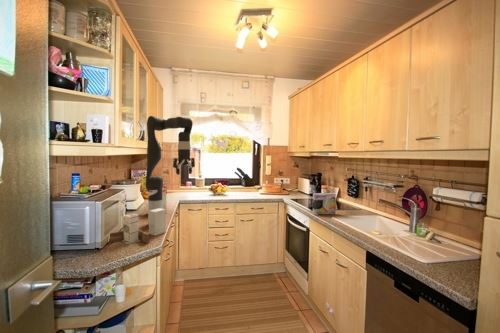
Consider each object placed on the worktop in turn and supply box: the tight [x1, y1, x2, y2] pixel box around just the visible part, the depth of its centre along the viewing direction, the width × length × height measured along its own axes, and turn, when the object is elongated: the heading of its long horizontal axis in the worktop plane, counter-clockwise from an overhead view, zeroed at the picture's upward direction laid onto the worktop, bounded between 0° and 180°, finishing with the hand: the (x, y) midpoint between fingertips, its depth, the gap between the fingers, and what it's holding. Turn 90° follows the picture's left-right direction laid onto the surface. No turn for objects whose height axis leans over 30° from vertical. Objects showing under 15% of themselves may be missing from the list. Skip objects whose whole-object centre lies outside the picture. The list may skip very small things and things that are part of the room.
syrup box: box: [122, 213, 139, 242], centre depth 147 cm, size 6×6×14 cm
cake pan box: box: [312, 192, 337, 216], centre depth 218 cm, size 19×5×18 cm, turn 94°
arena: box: [107, 228, 150, 245], centre depth 144 cm, size 16×16×5 cm
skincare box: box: [148, 208, 167, 237], centre depth 161 cm, size 8×6×15 cm
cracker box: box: [147, 187, 167, 211], centre depth 211 cm, size 14×6×21 cm, turn 66°
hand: (184, 174), depth 167 cm, fingers open, 8 cm apart
